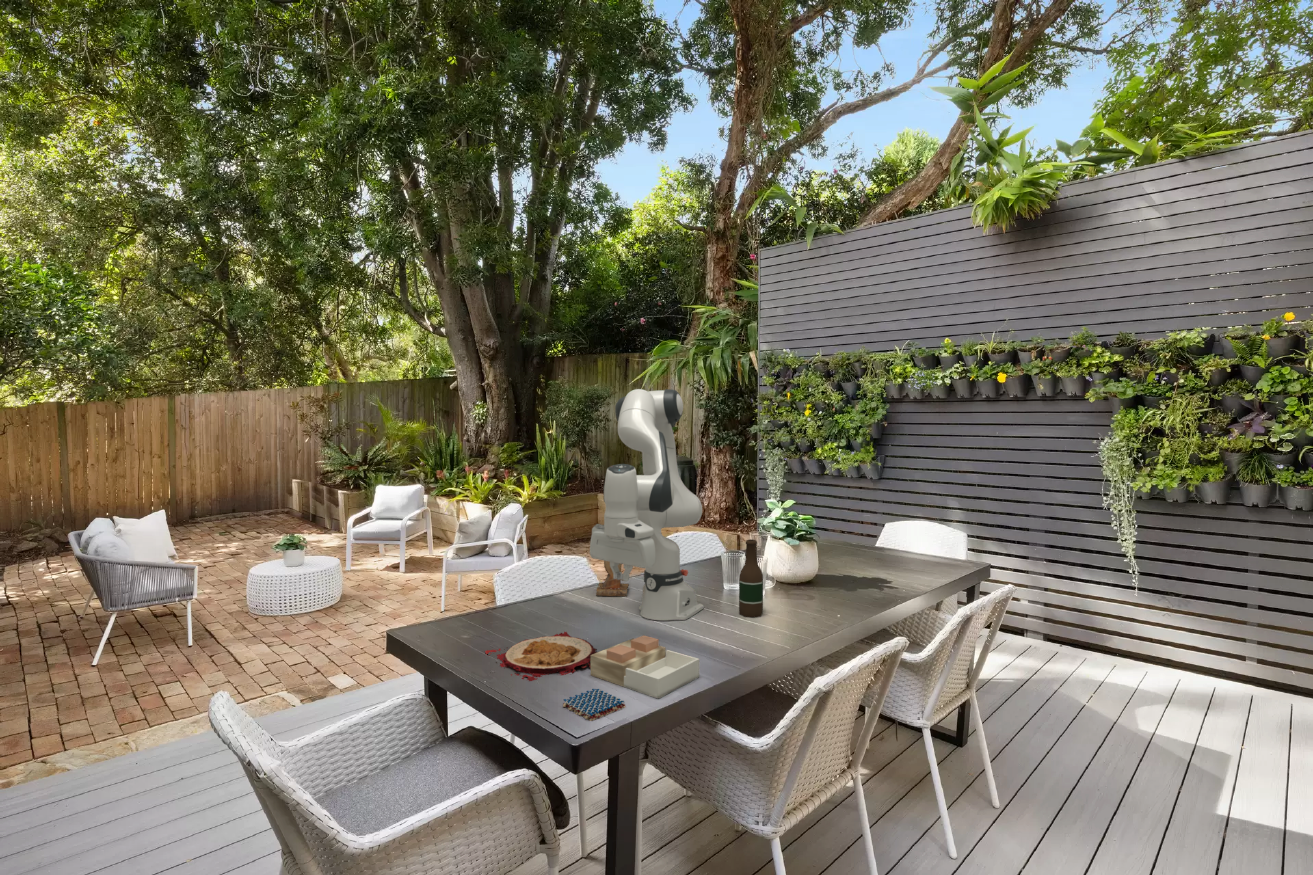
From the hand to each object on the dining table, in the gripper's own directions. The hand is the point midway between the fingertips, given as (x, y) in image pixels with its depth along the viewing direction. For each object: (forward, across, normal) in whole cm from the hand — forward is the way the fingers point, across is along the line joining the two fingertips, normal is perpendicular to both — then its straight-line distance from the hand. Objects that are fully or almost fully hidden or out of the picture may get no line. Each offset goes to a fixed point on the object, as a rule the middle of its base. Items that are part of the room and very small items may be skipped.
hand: (621, 579), depth 173 cm
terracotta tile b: (+16, +8, -9) cm, 20 cm away
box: (+21, +17, -4) cm, 28 cm away
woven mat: (+22, +14, -24) cm, 36 cm away
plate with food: (+22, -16, -12) cm, 30 cm away
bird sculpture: (+21, -46, +46) cm, 69 cm away
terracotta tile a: (+16, +8, 0) cm, 18 cm away
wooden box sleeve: (+21, +6, -4) cm, 23 cm away
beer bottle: (+21, +6, +56) cm, 60 cm away
